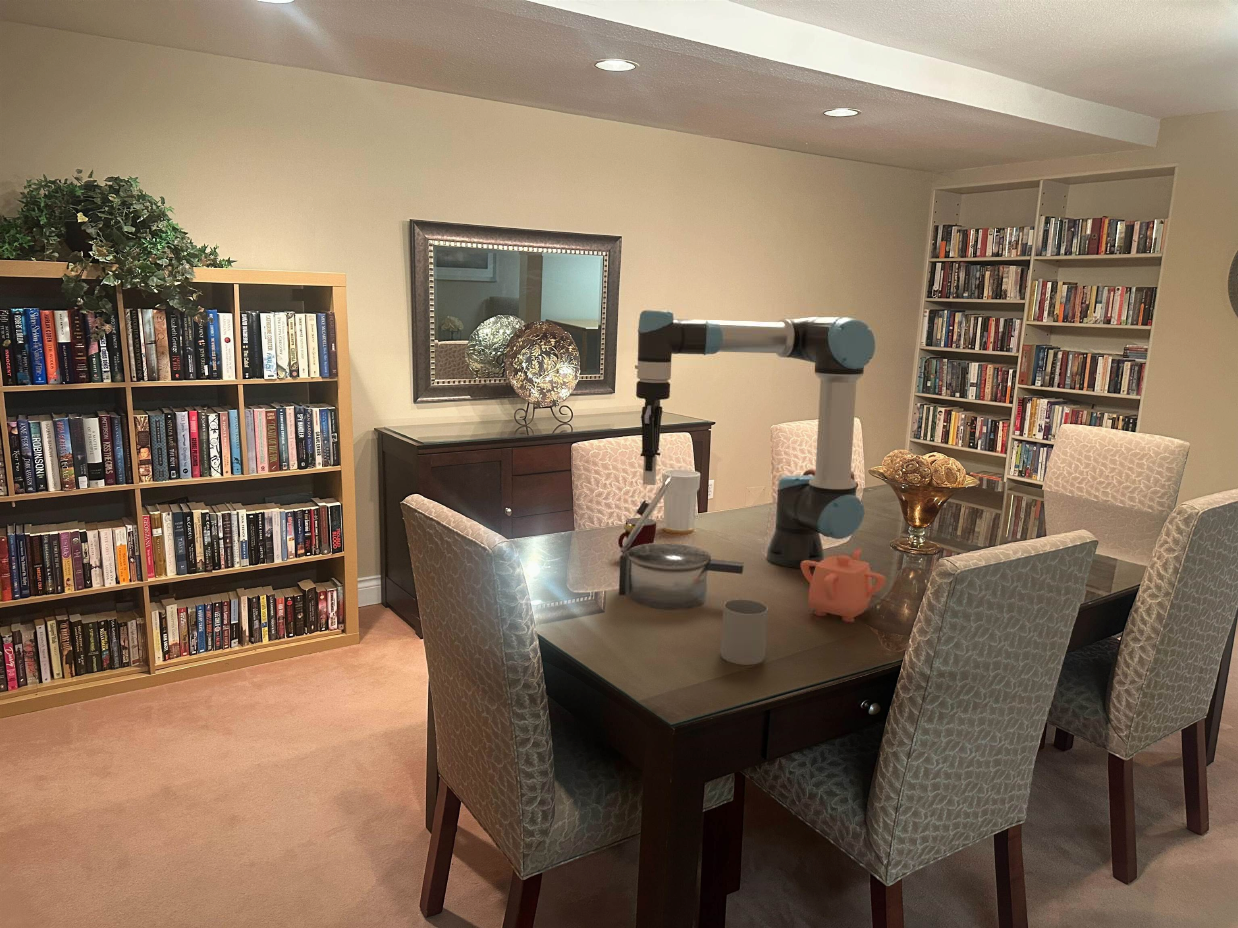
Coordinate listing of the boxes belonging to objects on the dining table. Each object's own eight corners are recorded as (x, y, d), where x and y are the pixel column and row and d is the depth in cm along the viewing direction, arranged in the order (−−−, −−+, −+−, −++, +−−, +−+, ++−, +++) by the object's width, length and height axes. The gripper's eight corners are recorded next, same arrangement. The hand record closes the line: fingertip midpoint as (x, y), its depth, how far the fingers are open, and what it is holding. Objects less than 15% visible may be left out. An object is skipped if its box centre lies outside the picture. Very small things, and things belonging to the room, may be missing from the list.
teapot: (824, 627, 186) (829, 568, 184) (790, 602, 201) (794, 547, 199) (893, 622, 191) (898, 564, 188) (855, 598, 206) (860, 544, 203)
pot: (744, 590, 208) (746, 550, 206) (736, 618, 190) (739, 573, 188) (629, 578, 214) (631, 539, 212) (611, 604, 196) (613, 561, 194)
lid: (679, 472, 207) (668, 464, 207) (666, 487, 188) (654, 479, 189) (635, 539, 212) (624, 532, 212) (617, 561, 194) (605, 553, 194)
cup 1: (704, 529, 264) (707, 472, 261) (686, 536, 255) (689, 478, 252) (671, 522, 270) (673, 467, 267) (652, 530, 261) (655, 473, 258)
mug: (629, 565, 225) (631, 528, 223) (610, 557, 231) (612, 521, 229) (661, 559, 231) (662, 522, 230) (641, 552, 238) (643, 516, 236)
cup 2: (717, 647, 173) (720, 599, 172) (758, 647, 174) (761, 599, 172) (726, 664, 165) (729, 614, 163) (768, 664, 166) (772, 614, 164)
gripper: (642, 377, 202) (638, 477, 206) (630, 382, 189) (626, 488, 194) (674, 379, 200) (670, 480, 204) (664, 384, 188) (660, 491, 192)
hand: (649, 484), depth 199 cm, fingers closed
